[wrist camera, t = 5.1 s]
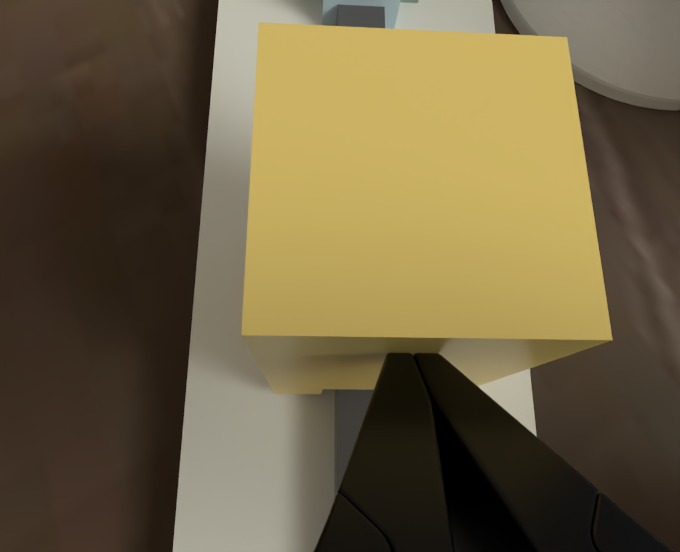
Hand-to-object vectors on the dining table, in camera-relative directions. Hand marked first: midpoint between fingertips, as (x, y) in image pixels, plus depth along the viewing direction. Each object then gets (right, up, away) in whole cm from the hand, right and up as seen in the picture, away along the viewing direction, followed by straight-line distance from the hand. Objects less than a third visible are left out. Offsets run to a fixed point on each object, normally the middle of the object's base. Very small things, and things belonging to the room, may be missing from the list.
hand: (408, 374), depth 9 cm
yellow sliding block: (0, +1, +7) cm, 7 cm away
